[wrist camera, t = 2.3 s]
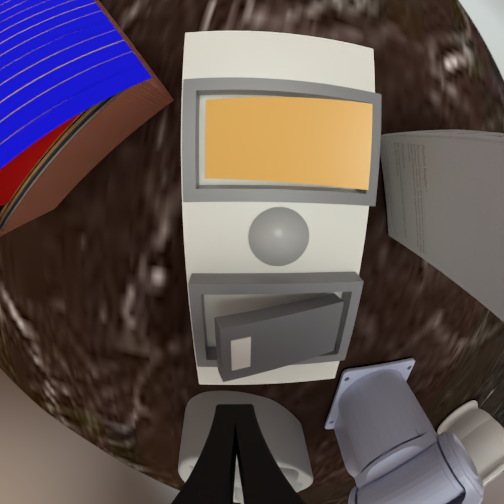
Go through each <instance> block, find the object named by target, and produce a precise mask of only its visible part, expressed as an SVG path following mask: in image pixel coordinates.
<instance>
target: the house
mask: <svg viewBox="0 0 504 504" xmlns="http://www.w3.org/2000/svg"><path fill="white" fill-rule="evenodd" d="M173 101H174V99H173V98H172V97H171V95H170V94H169V93H168V91H167V90H166V88H165V87H164V86H163V84H162V83H161V82H160V80H159V79H158V78H157V76H156V75H155V73H154V72H153V71H152V69H151V68H150V67H149V65H148V64H147V63H146V61H145V60H144V59H143V57H142V56H141V55H140V53H139V52H138V51H137V49H136V48H135V47H134V45H133V44H132V43H131V41H130V40H129V39H128V37H127V36H126V35H125V33H124V32H123V31H122V30H121V28H120V27H119V26H118V24H117V23H116V22H115V20H114V19H113V18H112V17H111V15H110V14H109V13H108V11H107V10H106V9H105V8H104V6H103V5H102V4H101V2H100V1H99V0H0V236H2V235H4V234H6V233H8V232H9V231H11V230H13V229H15V228H17V227H19V226H21V225H23V224H25V223H27V222H29V221H31V220H33V219H35V218H37V217H39V216H41V215H43V214H45V213H47V212H49V211H52V210H54V209H55V208H56V207H57V206H58V204H59V203H60V202H61V201H62V200H63V199H64V198H65V197H66V196H67V194H68V193H69V192H70V191H71V190H72V189H73V188H74V187H75V186H76V185H77V184H78V183H79V182H80V181H81V180H82V179H83V178H84V177H85V176H86V175H87V174H88V173H89V172H90V171H91V170H92V169H93V168H94V167H95V166H96V165H97V164H98V163H99V162H100V161H101V160H102V159H103V158H104V157H105V156H106V155H107V154H109V153H110V152H111V151H112V150H113V149H114V148H115V147H116V146H117V145H119V144H120V143H121V142H122V141H123V140H124V139H125V138H127V137H128V136H129V135H130V134H131V133H133V132H134V131H135V130H136V129H137V128H139V127H140V126H141V125H142V124H144V123H145V122H146V121H147V120H149V119H150V118H151V117H152V116H154V115H155V114H156V113H158V112H159V111H160V110H162V109H163V108H164V107H166V106H167V105H168V104H170V103H171V102H173ZM88 108H89V109H88ZM87 109H88V110H87ZM85 110H87V111H86V112H85V113H84V114H83V115H82V116H81V117H80V118H79V119H78V120H77V121H76V122H75V120H76V119H77V118H78V117H79V116H80V115H81V114H82V113H83V112H84V111H85ZM74 122H75V123H74ZM73 123H74V124H73ZM72 124H73V125H72ZM71 125H72V126H71ZM70 126H71V128H70V129H69V130H68V131H67V132H66V133H65V134H64V135H63V136H62V137H61V138H60V136H61V135H62V134H63V133H64V132H65V131H66V130H67V129H68V128H69V127H70ZM59 138H60V139H59ZM58 139H59V141H58V142H57V143H56V144H55V145H54V146H53V144H54V143H55V142H56V141H57V140H58ZM52 146H53V147H52ZM51 147H52V149H51V150H50V151H49V152H48V153H47V151H48V150H49V149H50V148H51ZM46 153H47V155H46V156H45V157H44V158H43V156H44V155H45V154H46ZM42 158H43V159H42ZM41 159H42V161H41V162H40V163H39V164H38V162H39V161H40V160H41ZM37 164H38V166H37V167H36V168H35V166H36V165H37ZM34 168H35V169H34Z"/></svg>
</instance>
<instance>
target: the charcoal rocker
mask: <svg viewBox="0 0 504 504" xmlns="http://www.w3.org/2000/svg"><path fill="white" fill-rule="evenodd" d="M343 304H344V301H343V300H342V299H341V298H339V297H338V296H337V295H336V294H334V293H332V294H328V295H324V296H319V297H315V298H311V299H306V300H302V301H297V302H292V303H288V304H283V305H278V306H273V307H268V308H263V309H258V310H253V311H248V312H242V313H237V314H231V315H226V316H220V317H214V322H215V338H216V353H217V366H218V372H219V374H220V376H221V379H222V381H223V382H226V381H230V380H235V379H239V378H243V377H247V376H251V375H255V374H259V373H263V372H267V371H270V370H274V369H277V368H281V367H284V366H288V365H291V364H295V363H298V362H301V361H304V360H307V359H311V358H314V357H317V356H320V355H323V354H326V353H329V352H331V351H333V350H334V346H335V342H336V338H337V333H338V329H339V324H340V319H341V314H342V309H343Z"/></svg>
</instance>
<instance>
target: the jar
mask: <svg viewBox="0 0 504 504" xmlns="http://www.w3.org/2000/svg"><path fill="white" fill-rule="evenodd" d="M442 432H447V433H448V432H452V433H454V434H455V435H456V436H457V437H458V438H459V440H460V441H461V442H462V444H463V445H464V447H465V448H466V450H467V452H468V453H469V455H470V457H471V459H472V460H473V462H474V464H475V467H476V469H477V471H478V474H479V476H480V478H481V480H482V482H483V486H484V487H485V486H486V485H487V484H488V483H490V482H491V481H493V480H494V479H495V478H496V477H498V476H499V475H500V474H501V473H502V472H504V429H503V427H502V426H501V425H500V424H499V423H498V422H497V421H496V420H494V419H493V418H492V416H490V415H489V414H488V413H487V412H485V411H483V410H481V409H478V403H477V401H476V400H472V401H469V402H467V403H465V404H463V405H461V406H460V407H458V408H457V409H456V410H454V411H453V412H452V413H451V414H450V415H449V416H448V417H447V418H446V419H445V420H444V421H443V422H442V423H441V424H440V426H439V427H438V430H437V433H438V434H439V435H440V434H441V433H442Z"/></svg>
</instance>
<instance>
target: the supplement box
mask: <svg viewBox="0 0 504 504" xmlns="http://www.w3.org/2000/svg"><path fill="white" fill-rule="evenodd" d="M380 157H381V163H382V171H383V179H384V187H385V197H386V208H387V221H388V235H389V236H390V237H392V238H394V239H395V240H397V241H398V242H399V243H401V244H402V245H404V246H405V247H407V248H408V249H410V250H411V251H413V252H414V253H416V254H417V255H418V256H420V257H421V258H423V259H424V260H426V261H427V262H428V263H430V264H431V265H432V266H434V267H435V268H437V269H438V270H439V271H441V272H442V273H443V274H445V275H446V276H447V277H449V278H450V279H451V280H453V281H454V282H455V283H457V284H458V285H459V286H461V287H462V288H463V289H464V290H466V291H467V292H468V293H469V294H471V295H472V296H473V297H475V298H476V299H477V300H478V301H479V302H480V303H482V304H483V305H484V306H485V307H487V308H488V309H489V310H490V311H492V312H493V313H494V314H495V315H496V316H497V317H498V318H500V319H501V320H502V321H503V322H504V133H495V132H485V131H474V130H456V129H455V130H425V131H411V132H400V133H390V134H383V135H381V140H380Z"/></svg>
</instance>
